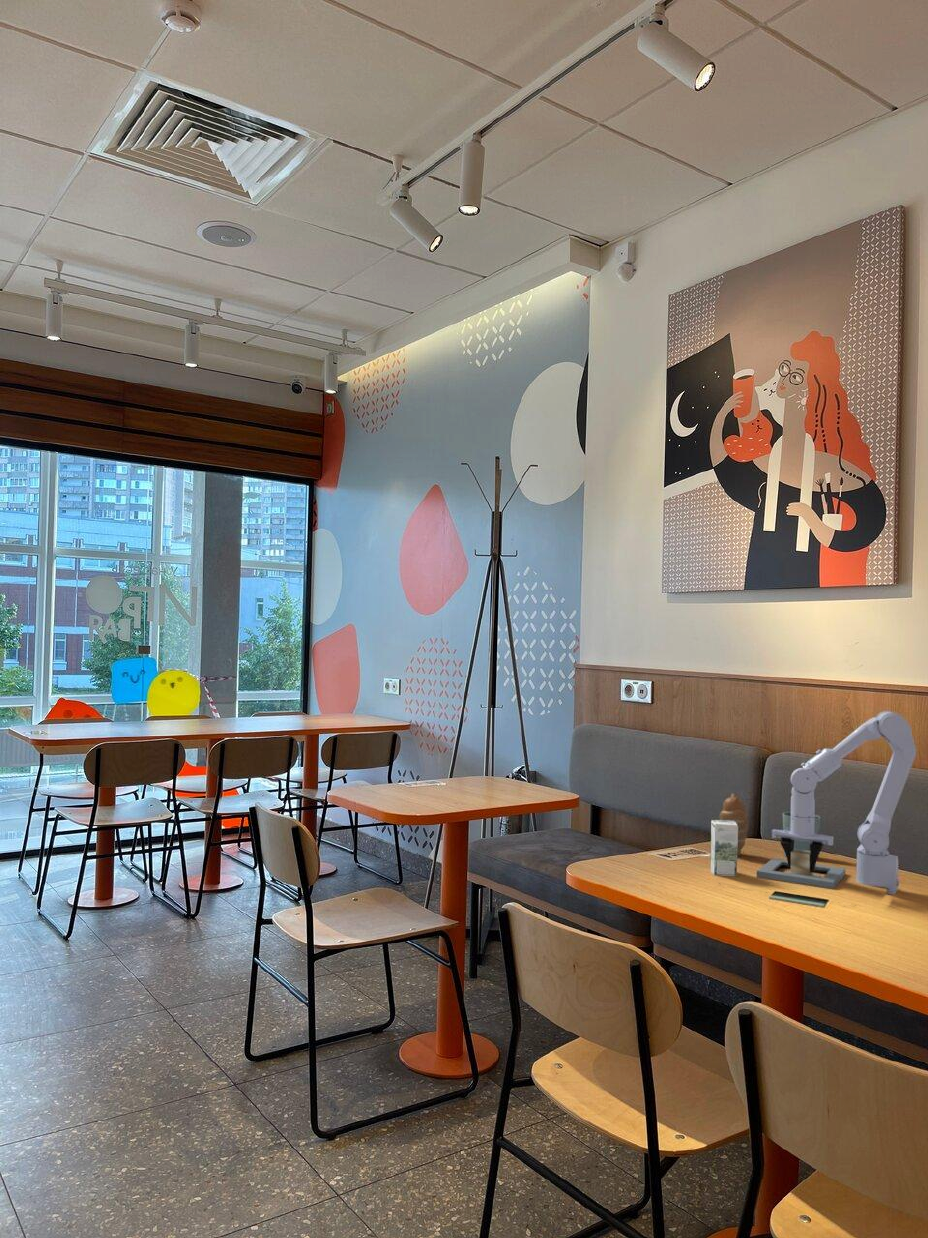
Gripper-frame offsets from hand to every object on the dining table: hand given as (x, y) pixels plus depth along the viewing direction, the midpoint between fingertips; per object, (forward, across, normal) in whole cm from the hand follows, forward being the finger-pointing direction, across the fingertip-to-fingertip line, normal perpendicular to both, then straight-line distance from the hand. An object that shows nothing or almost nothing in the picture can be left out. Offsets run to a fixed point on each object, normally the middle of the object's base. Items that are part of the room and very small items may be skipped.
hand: (801, 870), depth 230 cm
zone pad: (+3, -3, +17) cm, 18 cm away
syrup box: (+3, +17, +10) cm, 20 cm away
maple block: (+1, 0, 0) cm, 1 cm away
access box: (+3, 0, 0) cm, 3 cm away
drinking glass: (+3, +6, -30) cm, 31 cm away
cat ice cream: (+3, +21, -14) cm, 25 cm away
